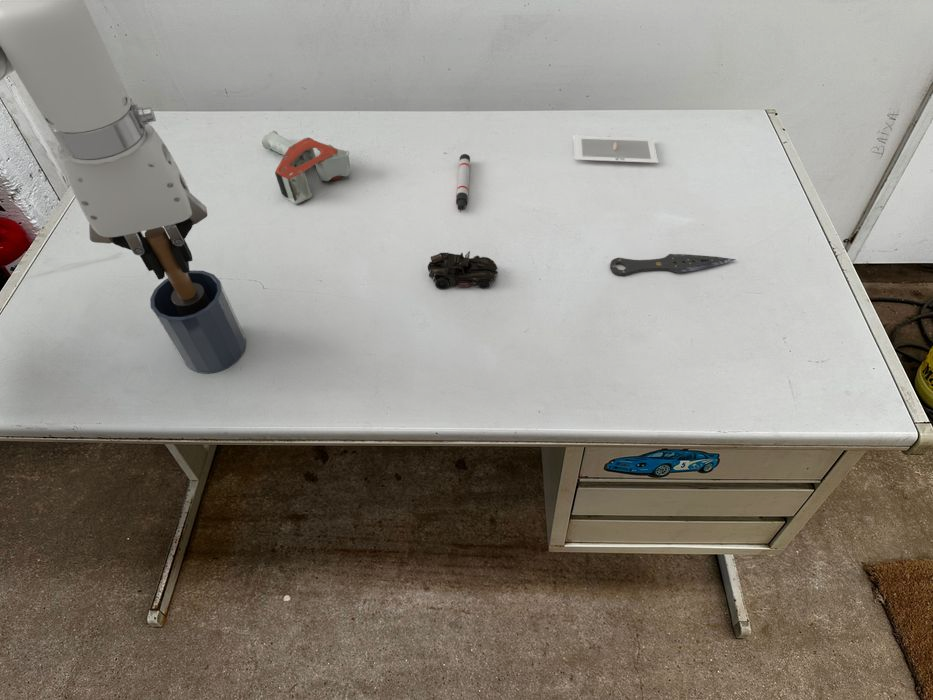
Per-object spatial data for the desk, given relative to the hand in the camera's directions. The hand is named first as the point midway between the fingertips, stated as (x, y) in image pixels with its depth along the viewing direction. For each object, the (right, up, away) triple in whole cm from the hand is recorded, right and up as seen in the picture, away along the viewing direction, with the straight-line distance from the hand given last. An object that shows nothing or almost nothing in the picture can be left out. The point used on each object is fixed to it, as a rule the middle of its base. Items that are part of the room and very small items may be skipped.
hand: (173, 267), depth 73 cm
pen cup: (0, -10, +12) cm, 16 cm away
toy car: (+35, +1, +21) cm, 41 cm away
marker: (+35, +19, +35) cm, 52 cm away
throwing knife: (+67, +3, +22) cm, 71 cm away
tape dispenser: (+6, +23, +38) cm, 45 cm away
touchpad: (+63, +27, +41) cm, 80 cm away
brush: (0, -6, +7) cm, 10 cm away
